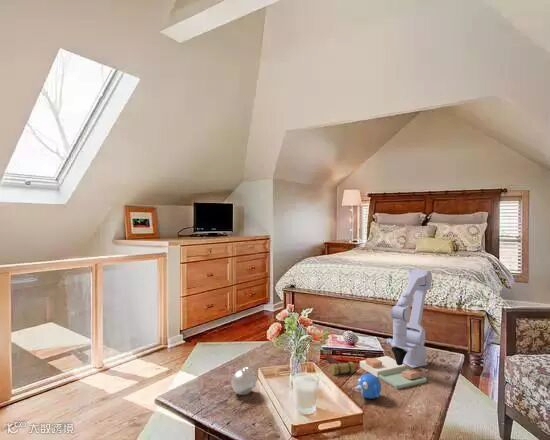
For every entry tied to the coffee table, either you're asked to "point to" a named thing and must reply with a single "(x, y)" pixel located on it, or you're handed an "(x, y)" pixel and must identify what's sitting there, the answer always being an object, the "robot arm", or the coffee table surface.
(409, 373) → the tile
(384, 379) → the tray
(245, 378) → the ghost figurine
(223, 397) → the coffee table surface
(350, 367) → the gavel
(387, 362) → the board
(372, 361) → the tile
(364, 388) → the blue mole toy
